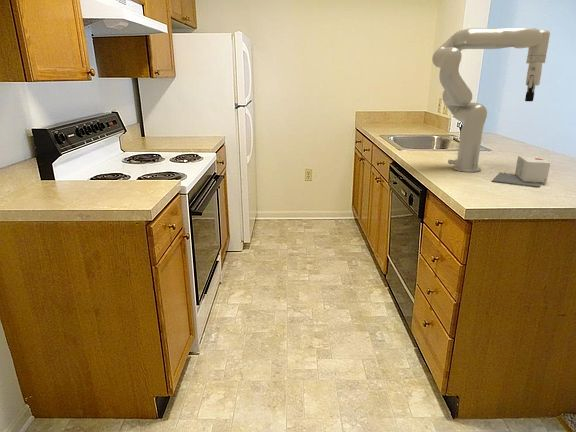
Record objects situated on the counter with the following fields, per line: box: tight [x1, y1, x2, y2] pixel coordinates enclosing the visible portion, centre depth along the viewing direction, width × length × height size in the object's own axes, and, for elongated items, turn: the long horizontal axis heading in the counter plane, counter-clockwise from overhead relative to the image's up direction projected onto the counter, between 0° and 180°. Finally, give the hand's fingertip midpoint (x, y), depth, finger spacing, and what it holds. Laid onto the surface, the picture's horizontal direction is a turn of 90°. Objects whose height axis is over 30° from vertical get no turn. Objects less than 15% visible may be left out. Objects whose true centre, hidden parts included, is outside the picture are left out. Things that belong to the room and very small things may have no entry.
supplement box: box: [514, 155, 551, 184], centre depth 180 cm, size 9×9×15 cm
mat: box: [491, 172, 542, 188], centre depth 181 cm, size 18×19×1 cm
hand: (528, 101), depth 195 cm, fingers closed
